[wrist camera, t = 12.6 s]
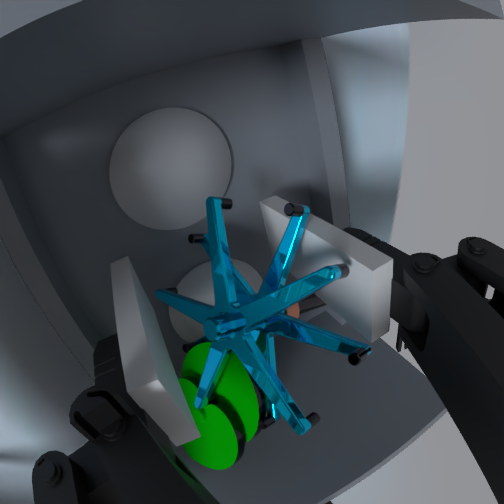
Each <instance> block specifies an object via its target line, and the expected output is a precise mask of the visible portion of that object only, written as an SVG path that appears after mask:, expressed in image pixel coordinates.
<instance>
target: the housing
mask: <svg viewBox="0 0 504 504" xmlns="http://www.w3.org/2000/svg"><path fill="white" fill-rule="evenodd" d="M443 19H504V16H503V12H502V8H501V4H500V0H0V238H1V240H2V242H3V244H4V246H5V248H6V250H7V252H8V253H9V255H10V257H11V259H12V261H13V263H14V265H15V266H16V268H17V270H18V272H19V274H20V275H21V277H22V279H23V281H24V282H25V284H26V286H27V287H28V289H29V291H30V292H31V294H32V296H33V297H34V299H35V300H36V302H37V304H38V305H39V307H40V308H41V310H42V311H43V313H44V314H45V316H46V317H47V319H48V320H49V322H50V323H51V325H52V326H53V328H54V329H55V331H56V332H57V333H58V335H59V336H60V338H61V339H62V340H63V342H64V343H65V345H66V346H67V347H68V349H69V350H70V351H71V353H72V354H73V355H74V357H75V358H76V359H77V360H78V362H79V363H80V364H81V366H82V367H83V368H84V369H85V371H86V372H87V373H88V374H89V376H90V377H91V378H92V379H93V380H94V382H95V376H94V369H95V368H94V362H93V353H94V350H95V348H96V345H97V343H98V341H100V340H102V339H105V338H107V337H109V336H112V335H114V334H116V333H117V326H116V318H115V310H114V301H113V291H112V279H111V266H110V264H111V263H113V262H115V261H118V260H120V259H122V258H124V257H127V256H128V257H129V260H130V262H131V264H132V266H133V268H134V270H135V272H136V274H137V277H138V279H139V281H140V283H141V285H142V287H143V289H144V291H145V293H146V295H147V297H148V299H149V301H150V303H151V305H152V307H153V309H154V311H155V314H156V317H157V320H158V324H159V327H160V330H161V333H162V336H163V339H164V342H165V345H166V347H167V350H168V353H169V356H170V359H171V362H172V364H173V367H174V370H175V373H176V375H177V378H181V377H182V366H183V362H184V359H185V357H186V355H187V354H188V353H185V352H184V351H183V348H182V347H183V344H186V343H190V342H194V341H196V340H198V339H199V338H201V337H203V336H205V334H204V330H203V325H202V324H200V323H199V322H197V321H195V320H193V319H192V318H190V317H188V316H186V315H185V314H183V313H181V312H179V311H178V310H176V309H174V308H173V307H171V306H169V305H167V304H166V303H164V302H162V301H161V300H159V299H157V298H156V296H155V291H156V290H157V289H163V288H171V287H176V288H177V290H178V294H180V295H183V296H186V297H189V298H192V299H195V300H197V301H200V302H203V303H206V304H209V305H212V306H215V298H214V288H213V279H212V269H211V259H210V257H209V256H208V254H207V252H206V251H205V249H204V248H203V246H202V244H201V243H195V244H191V243H189V241H188V236H189V234H191V233H208V226H207V215H206V199H207V198H208V197H209V196H214V197H223V198H230V199H232V201H233V206H232V208H231V209H230V210H225V209H222V213H223V219H224V225H225V231H226V237H227V243H228V249H229V254H230V260H231V262H232V263H233V265H234V266H235V267H236V269H237V270H238V271H239V272H240V274H241V275H242V276H243V277H244V279H245V280H246V281H247V282H248V284H249V285H250V286H251V287H252V289H253V290H254V291H255V292H256V293H258V291H259V289H260V287H261V285H262V282H263V280H264V278H265V276H266V273H267V271H268V269H269V267H270V264H271V262H272V260H273V258H272V254H271V250H270V246H269V241H268V237H267V233H266V228H265V224H264V220H263V215H262V211H261V207H260V203H259V201H262V200H264V199H267V198H269V197H272V196H275V195H276V196H278V197H280V198H282V199H284V200H286V201H288V202H290V203H295V204H301V205H306V206H308V207H309V209H310V213H311V214H313V215H315V216H316V217H318V218H320V219H322V220H324V221H326V222H328V223H330V224H331V225H333V226H335V227H337V228H339V229H341V230H342V229H345V228H347V227H350V217H349V206H348V197H347V188H346V179H345V171H344V163H343V156H342V149H341V142H340V135H339V129H338V122H337V116H336V110H335V105H334V99H333V94H332V88H331V83H330V78H329V73H328V68H327V63H326V59H325V54H324V50H323V45H322V41H321V38H322V37H326V36H330V35H335V34H339V33H344V32H349V31H354V30H360V29H365V28H371V27H377V26H384V25H391V24H399V23H407V22H417V21H428V20H443ZM296 280H298V279H297V278H296V277H295V276H293V275H292V274H291V273H290V272H289V274H288V276H287V279H286V282H285V285H287V284H289V283H291V282H294V281H296ZM285 285H284V286H285ZM298 319H300V320H303V321H306V322H308V323H311V324H313V325H316V326H319V327H321V328H324V329H327V330H329V331H332V332H335V333H338V334H340V335H343V336H346V337H349V338H351V339H354V340H357V341H360V342H362V343H365V344H368V345H369V346H370V347H371V350H372V351H371V354H370V355H369V356H368V357H367V358H366V359H364V360H363V361H362V362H361V363H360V364H359V365H357V366H353V365H351V364H350V363H349V362H348V355H344V354H341V353H337V352H334V351H330V350H327V349H323V348H320V347H316V346H313V345H310V344H306V343H303V342H300V341H297V340H293V339H290V338H287V337H284V336H281V335H277V334H274V348H275V358H276V369H277V376H278V378H279V379H280V381H281V382H282V384H283V385H284V387H285V388H286V390H287V391H288V393H289V394H290V396H291V397H292V399H293V400H294V402H295V403H296V404H297V406H298V407H299V409H300V410H301V412H302V413H303V415H304V416H305V417H306V416H307V415H309V414H310V413H312V412H316V413H317V414H318V415H319V416H320V421H319V422H318V423H317V424H316V425H315V426H313V427H312V428H311V429H310V430H308V431H307V432H306V433H305V434H303V435H298V434H296V433H295V431H294V430H293V429H292V428H291V426H290V425H289V424H288V423H287V421H286V420H285V419H284V418H283V416H282V415H281V418H280V420H278V421H277V422H275V423H274V424H272V425H271V426H269V427H268V428H266V429H262V430H261V432H260V433H259V434H258V435H257V436H256V437H254V438H253V439H251V440H250V441H248V442H246V443H245V449H244V453H243V456H242V457H241V459H240V460H239V461H238V462H237V463H235V464H234V465H232V466H231V467H229V468H227V469H223V470H215V469H211V468H208V467H206V466H203V465H201V464H200V463H198V462H196V461H195V460H194V459H192V458H191V457H190V456H189V455H188V453H187V452H186V451H185V449H184V447H183V446H182V445H179V446H177V447H176V446H175V445H174V444H173V443H172V441H171V440H170V439H169V440H170V442H171V445H172V448H173V451H174V453H175V454H176V455H177V456H178V457H179V458H180V459H181V460H182V461H183V463H184V464H185V465H186V466H187V467H188V468H189V470H190V471H191V472H192V473H193V474H194V475H195V477H196V478H197V479H198V480H199V481H200V482H201V483H202V484H203V486H204V487H205V488H206V489H207V490H208V491H209V492H210V493H211V494H212V495H213V496H214V497H215V499H216V500H217V501H218V502H219V503H220V504H325V503H327V502H329V501H330V500H332V499H334V498H335V497H337V496H338V495H340V494H342V493H343V492H345V491H347V490H348V489H350V488H351V487H353V486H354V485H356V484H357V483H359V482H360V481H362V480H363V479H365V478H366V477H368V476H369V475H371V474H372V473H374V472H375V471H376V470H378V469H379V468H381V467H382V466H383V465H384V464H386V463H387V462H389V461H390V460H391V459H392V458H394V457H395V456H396V455H398V454H399V453H400V452H402V451H403V450H404V449H405V448H407V447H408V446H409V445H410V444H411V443H413V442H414V441H415V440H416V439H417V438H419V437H420V436H421V435H422V434H423V433H424V432H425V431H427V430H428V429H429V428H430V427H431V426H432V425H433V424H434V423H436V422H437V421H438V420H439V419H440V418H441V417H442V416H443V415H444V414H445V413H446V412H447V409H446V407H445V406H444V404H443V402H442V401H441V399H440V398H439V396H438V394H437V393H436V391H435V390H434V388H433V386H432V385H431V383H430V382H429V380H428V378H427V377H426V376H425V375H424V374H422V373H421V372H420V371H419V370H418V369H416V368H415V367H414V366H413V365H411V363H409V362H408V361H407V360H406V359H404V358H403V357H402V356H401V355H400V354H398V352H396V351H395V350H394V349H393V348H391V347H390V346H389V345H388V344H387V343H385V342H384V341H383V340H382V339H381V338H378V339H377V340H375V341H374V342H373V343H371V342H369V341H368V340H367V339H366V338H365V337H364V336H363V335H361V334H360V333H359V332H358V331H357V330H356V329H355V328H353V327H352V326H351V325H350V324H349V323H348V322H347V321H345V320H344V319H343V318H342V317H341V316H340V315H338V314H337V313H336V312H335V311H334V310H333V309H332V308H330V307H329V306H328V305H325V306H323V307H320V308H317V309H314V310H312V311H309V312H306V313H303V314H300V315H299V318H298ZM266 416H267V412H266Z"/></svg>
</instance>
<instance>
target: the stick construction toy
mask: <svg viewBox="0 0 504 504" xmlns="http://www.w3.org/2000/svg"><path fill="white" fill-rule="evenodd" d="M232 206H233V201H232V199H230V198H223V197H214V196H209V197H208V198H207V199H206V215H207V226H208V233H191V234H189V236H188V241H189V243H191V244H195V243H201V244H202V246H203V248H204V249H205V251H206V252H207V254H208V256H209V257H210V259H211V269H212V279H213V288H214V298H215V306H212V305H209V304H206V303H203V302H200V301H197V300H195V299H192V298H189V297H186V296H183V295H180V294H178V290H177V288H176V287H171V288H163V289H157V290H156V291H155V296H156V298H157V299H159V300H161V301H162V302H164V303H166V304H167V305H169V306H171V307H173V308H174V309H176V310H178V311H179V312H181V313H183V314H185V315H186V316H188V317H190V318H192V319H193V320H195V321H197V322H199V323H200V324H202V325H203V330H204V334H205V336H203V337H201V338H199V339H198V340H196V341H194V342H190V343H186V344H183V347H182V348H183V351H184V352H185V353H188V354H187V355H186V357H185V359H184V362H183V366H182V377H181V378H178V381H179V383H180V386H181V389H182V391H183V394H184V396H185V399H186V401H187V404H188V406H189V409H190V411H191V414H192V416H193V419H194V421H195V423H196V426H197V428H198V430H199V433H200V435H201V437H199V438H197V439H194V440H192V441H189V442H187V443H184V444H182V446H183V447H184V449H185V451H186V452H187V453H188V455H189V456H190V457H191V458H192V459H194V460H195V461H196V462H198V463H200V464H201V465H203V466H206V467H208V468H211V469H215V470H223V469H227V468H229V467H231V466H232V465H234V464H235V463H237V462H238V461H239V460H240V459H241V457H242V456H243V453H244V449H245V443H246V442H248V441H250V440H251V439H253V438H254V437H256V436H257V435H258V434H259V433H260V432H261V430H262V429H266V428H268V427H269V426H271V425H272V424H274V423H275V422H277V421H278V420H280V418H281V415H282V416H283V418H284V419H285V420H286V421H287V423H288V424H289V425H290V426H291V428H292V429H293V430H294V431H295V433H296V434H298V435H303V434H305V433H306V432H307V431H308V430H310V429H311V428H312V427H313V426H315V425H316V424H317V423H318V422H319V421H320V416H319V415H318V414H317V413H316V412H312V413H310V414H309V415H307V416H306V417H305V416H304V415H303V413H302V412H301V410H300V409H299V407H298V406H297V404H296V403H295V402H294V400H293V399H292V397H291V396H290V394H289V393H288V391H287V390H286V388H285V387H284V385H283V384H282V382H281V381H280V379H279V378H278V376H277V369H276V358H275V348H274V334H277V335H281V336H284V337H287V338H290V339H293V340H297V341H300V342H303V343H306V344H310V345H313V346H316V347H320V348H323V349H327V350H330V351H334V352H337V353H341V354H344V355H348V362H349V363H350V364H351V365H353V366H357V365H359V364H360V363H361V362H362V361H363V360H364V359H366V358H367V357H368V356H369V355H370V354H371V351H372V350H371V347H370V346H369V345H368V344H365V343H362V342H360V341H357V340H354V339H351V338H349V337H346V336H343V335H340V334H338V333H335V332H332V331H329V330H327V329H324V328H321V327H319V326H316V325H313V324H311V323H308V322H306V321H303V320H300V319H298V318H299V315H300V314H303V313H306V312H309V311H312V310H314V309H317V308H320V307H323V306H325V305H327V304H326V303H325V302H324V301H322V300H321V299H320V298H319V297H318V296H317V295H315V294H314V293H315V292H317V291H319V290H320V289H322V288H324V287H325V286H327V285H329V284H331V283H332V282H334V281H336V280H339V279H343V278H346V277H347V276H348V275H349V273H350V270H349V267H348V266H347V265H346V264H344V263H342V264H335V265H328V266H325V267H323V268H321V269H319V270H317V271H314V272H312V273H310V274H308V275H306V276H304V277H302V278H300V279H298V280H296V281H294V282H291V283H289V284H287V285H285V282H286V279H287V276H288V274H289V271H290V268H291V265H292V263H293V260H294V257H295V254H296V251H297V249H298V246H299V243H300V240H301V237H302V234H303V231H304V229H305V226H306V223H307V220H308V217H309V214H310V209H309V207H308V206H306V205H301V204H295V203H287V204H286V205H285V207H284V213H285V214H286V215H287V216H291V219H290V221H289V223H288V226H287V228H286V230H285V232H284V235H283V237H282V239H281V242H280V244H279V246H278V248H277V251H276V253H275V255H274V258H273V260H272V262H271V264H270V267H269V269H268V271H267V273H266V276H265V278H264V280H263V282H262V285H261V287H260V289H259V291H258V293H256V292H255V291H254V290H253V289H252V287H251V286H250V285H249V284H248V282H247V281H246V280H245V279H244V277H243V276H242V275H241V274H240V272H239V271H238V270H237V269H236V267H235V266H234V265H233V263H232V262H231V260H230V254H229V249H228V243H227V237H226V231H225V225H224V219H223V213H222V209H225V210H230V209H231V208H232ZM284 285H285V286H284ZM266 412H267V416H266Z"/></svg>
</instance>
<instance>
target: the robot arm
mask: <svg viewBox="0 0 504 504" xmlns="http://www.w3.org/2000/svg"><path fill="white" fill-rule="evenodd" d="M259 203H260V207H261V211H262V215H263V220H264V224H265V228H266V233H267V237H268V241H269V246H270V250H271V254H272V258H274V255H275V253H276V251H277V248H278V246H279V244H280V242H281V239H282V237H283V235H284V232H285V230H286V228H287V226H288V223H289V221H290V219H291V216H287V215H286V214H285V213H284V207H285V205H286V204H287V203H290V202H288V201H286V200H284V199H282V198H280V197H278V196H276V195H275V196H272V197H269V198H267V199H264V200H262V201H259ZM342 263H344V264H346V265H347V266H348V267H349V270H350V273H349V275H348V276H347V277H346V278H343V279H339V280H336V281H334V282H332V283H331V284H329V285H327V286H325V287H324V288H322V289H320V290H319V291H317V292H315V293H314V294H315V295H317V296H318V297H319V298H320V299H321V300H322V301H324V302H325V303H326V304H327V305H328V306H329V307H330V308H332V309H333V310H334V311H335V312H336V313H337V314H338V315H340V316H341V317H342V318H343V319H344V320H345V321H347V322H348V323H349V324H350V325H351V326H352V327H353V328H355V329H356V330H357V331H358V332H359V333H360V334H361V335H363V336H364V337H365V338H366V339H367V340H368V341H369V342H371V343H373V342H374V341H375V340H377V339H378V338H380V337H381V336H383V335H384V334H386V333H387V332H388V331H389V327H390V317H391V318H393V319H394V320H395V321H396V322H398V323H399V326H398V334H397V342H396V349H397V351H398V352H400V351H401V346H402V340H403V342H404V343H405V344H404V348H405V349H407V348H408V349H409V351H410V352H411V354H412V355H413V357H414V358H415V360H416V361H417V363H418V364H419V366H420V367H421V369H422V371H423V372H424V374H425V375H426V377H427V378H428V380H429V382H430V383H431V385H432V386H433V388H434V390H435V391H436V393H437V394H438V396H439V398H440V399H441V401H442V402H443V404H444V406H445V407H446V409H447V411H448V412H449V414H450V416H451V417H452V419H453V421H454V422H455V424H456V426H457V427H458V429H459V431H460V433H461V434H462V436H463V438H464V440H465V441H466V443H467V445H468V447H469V448H470V450H471V452H472V454H473V456H474V457H475V459H476V461H477V463H478V465H479V467H480V468H481V470H482V472H483V474H484V476H485V478H486V480H487V482H488V484H489V486H490V487H491V490H492V492H493V493H494V496H495V498H496V499H497V502H498V504H504V249H502V248H500V247H499V246H496V245H495V244H493V243H491V242H489V241H487V240H485V239H482V238H478V237H467V238H465V239H462V240H461V241H460V242H459V246H458V254H457V255H453V256H450V257H447V258H444V259H441V258H440V257H438V256H436V255H433V254H430V253H416V254H412V255H410V256H409V255H408V254H406V253H404V252H402V251H400V250H398V249H397V248H395V247H393V246H391V245H389V244H387V243H386V242H384V241H380V239H378V238H376V237H374V236H373V237H372V235H370V234H368V233H367V232H365V231H363V230H360V229H355V228H350V227H347V228H345V229H342V230H341V229H339V228H337V227H335V226H333V225H331V224H330V223H328V222H326V221H324V220H322V219H320V218H318V217H316V216H315V215H313V214H311V213H310V214H309V217H308V220H307V223H306V226H305V229H304V231H303V234H302V237H301V240H300V243H299V246H298V249H297V251H296V254H295V257H294V260H293V263H292V265H291V268H290V271H289V272H290V273H291V274H292V275H293V276H295V277H296V278H297V279H300V278H302V277H304V276H306V275H308V274H310V273H312V272H314V271H317V270H319V269H321V268H323V267H325V266H328V265H335V264H342ZM110 266H111V279H112V291H113V301H114V310H115V318H116V326H117V333H116V334H114V335H112V336H109V337H107V338H105V339H102V340H100V341H98V343H97V345H96V348H95V350H94V353H93V362H94V368H95V369H94V376H95V386H92V387H90V388H88V389H86V390H84V391H83V392H82V393H81V394H80V395H79V396H78V397H77V398H76V399H75V401H74V402H73V404H72V406H71V410H70V414H69V417H70V424H72V425H73V426H74V427H75V428H76V429H77V430H78V431H79V432H80V433H82V434H83V435H84V436H85V437H86V438H87V439H88V440H89V441H88V442H87V443H86V444H85V445H84V446H82V447H81V448H79V449H78V450H77V451H75V452H74V453H72V454H71V455H69V456H66V455H65V454H64V453H62V452H59V451H48V452H47V453H45V454H43V455H42V456H41V457H40V458H39V459H38V460H37V461H36V463H35V465H34V468H33V472H32V484H33V494H34V502H35V504H220V503H219V502H218V501H217V500H216V499H215V497H214V496H213V495H212V494H211V493H210V492H209V491H208V490H207V489H206V488H205V487H204V486H203V484H202V483H201V482H200V481H199V480H198V479H197V478H196V477H195V475H194V474H193V473H192V472H191V471H190V470H189V468H188V467H187V466H186V465H185V464H184V463H183V461H182V460H181V459H180V458H179V457H178V456H177V455H176V454H175V453H174V451H173V448H172V445H171V442H170V440H171V441H172V443H173V444H174V445H175V446H176V447H177V446H179V445H182V444H184V443H187V442H189V441H192V440H194V439H197V438H199V437H201V435H200V433H199V430H198V428H197V426H196V423H195V421H194V419H193V416H192V414H191V411H190V409H189V406H188V404H187V401H186V399H185V396H184V394H183V391H182V389H181V386H180V383H179V381H178V378H177V375H176V373H175V370H174V367H173V364H172V362H171V359H170V356H169V353H168V350H167V347H166V345H165V342H164V339H163V336H162V333H161V330H160V327H159V324H158V320H157V317H156V314H155V311H154V309H153V307H152V305H151V303H150V301H149V299H148V297H147V295H146V293H145V291H144V289H143V287H142V285H141V283H140V281H139V279H138V277H137V274H136V272H135V270H134V268H133V266H132V264H131V262H130V260H129V257H128V256H127V257H124V258H122V259H120V260H118V261H115V262H113V263H111V264H110ZM488 285H490V286H492V287H493V288H495V290H494V294H493V297H492V299H487V298H485V296H486V292H487V288H488ZM169 439H170V440H169Z"/></svg>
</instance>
